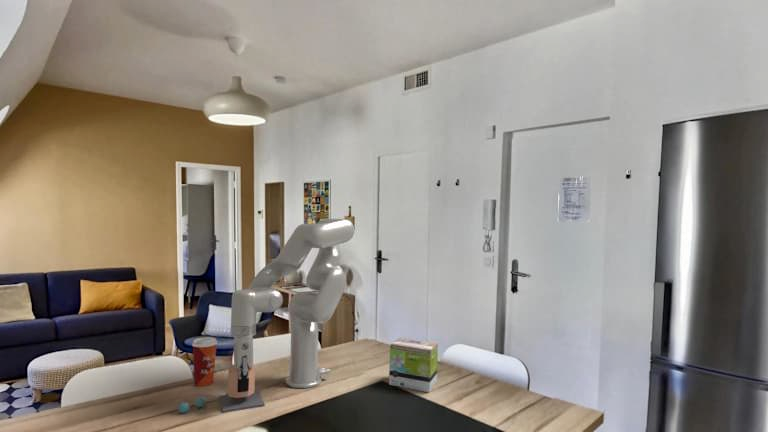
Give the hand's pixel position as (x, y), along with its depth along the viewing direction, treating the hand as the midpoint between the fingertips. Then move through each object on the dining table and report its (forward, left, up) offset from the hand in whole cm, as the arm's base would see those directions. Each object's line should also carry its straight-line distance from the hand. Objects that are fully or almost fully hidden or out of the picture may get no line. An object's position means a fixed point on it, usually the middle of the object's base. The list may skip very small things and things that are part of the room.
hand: (241, 386), depth 132 cm
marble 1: (+17, 0, -3) cm, 17 cm away
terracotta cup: (0, 0, -2) cm, 2 cm away
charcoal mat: (0, 0, -5) cm, 5 cm away
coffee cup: (+10, -21, -5) cm, 24 cm away
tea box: (-57, +8, -5) cm, 58 cm away
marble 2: (+13, -2, -2) cm, 13 cm away
